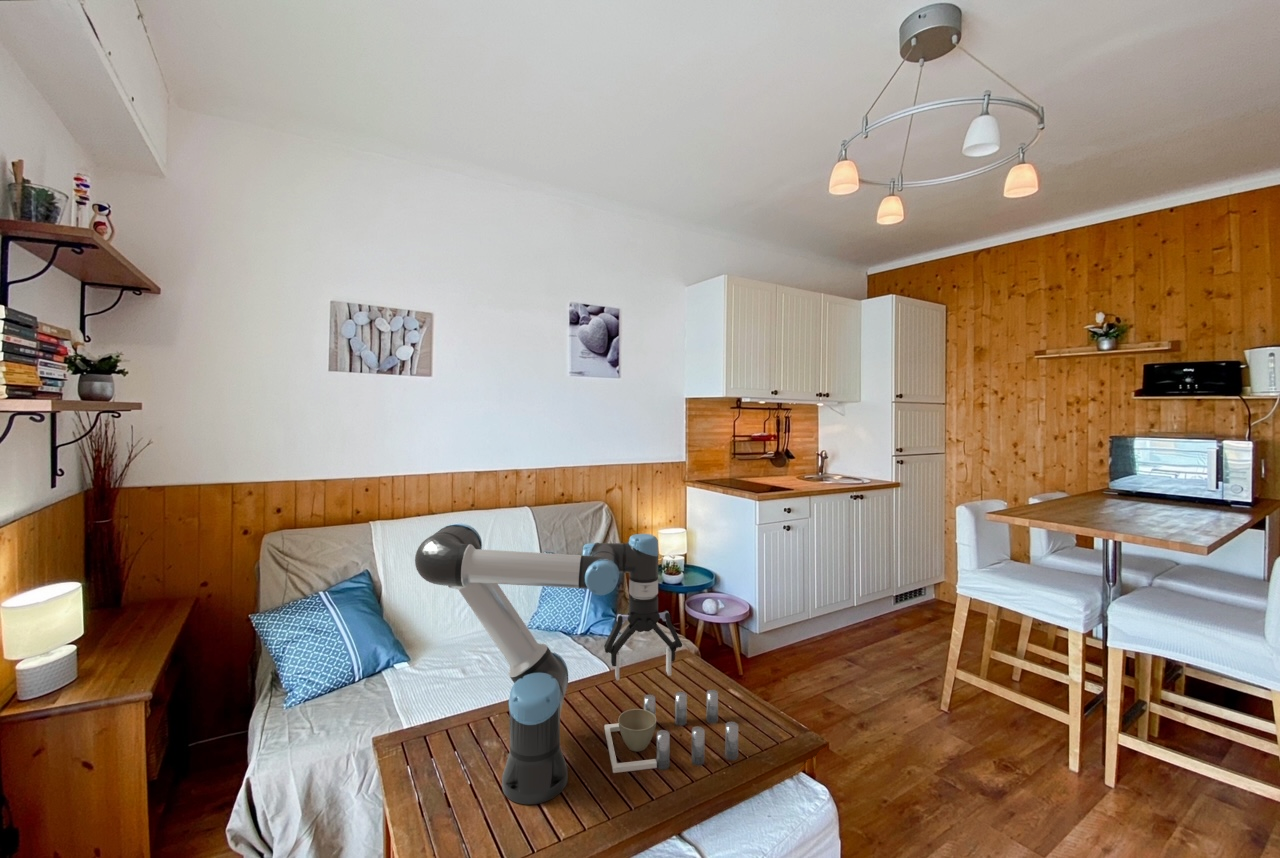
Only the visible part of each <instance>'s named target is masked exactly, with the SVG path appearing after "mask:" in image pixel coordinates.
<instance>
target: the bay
mask: <svg viewBox="0 0 1280 858" xmlns="http://www.w3.org/2000/svg"><path fill="white" fill-rule="evenodd" d="M613 732H614V733H615V732H620V728H619V723H610V724H608V723H607V724H604V733H605V738H606V739H605V740H606V743H607V744H606V745H607V748H608V753H609V759H610V764H611V769H612V773H613V774H616V773H623V772H624V773H625V772H633V771H640V770H641V771H643V770H649V769H658V768H657V762H656V759H657V758H652V759H644V760H643V759H642V760H633V761H627V762H618V760H617V757H616V752H615V747H614V744H613V737H612V733H613Z"/></svg>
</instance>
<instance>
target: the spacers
mask: <svg viewBox="0 0 1280 858" xmlns="http://www.w3.org/2000/svg"><path fill="white" fill-rule="evenodd" d="M687 695H688V694H687V693H686V692H684V691H677V692H676V693H675V694H674V696H675V697H674V698H675V699H674V705H675V707H674V711H675V712H674V716H675V717H674V724H675V725H676V726H680V727H683V726H686V725H687V723H688V722H687V718H688V717H687V716H688V715H687V713H688V712H687V709H688V707H687V706H688V705H687V703H688V702H687V701H688V698H687V697H688V696H687ZM643 710H647V711H649V712H651V713H653V714H654V715H655V716H656V696H655V695H653V694H645V695H644V696H643ZM718 721H719V692H718V691H717V690H716V689H709V690H707V691H706V722H707V723H709V724H712V725H713V724H716V723H718ZM705 733H706V729H705V728H704V727H702V726H699V725H697V726H694V727H692V728H691V763H692V764H693V765H695V766H703V765H704V764H705V755H706V754H705V747H706V746H705V745H706V744H705V742H706V741H705V736H706V734H705ZM724 733H725V736H724V737H725V740H724V742H725V749H724V750H725V751H724V753H725V754H724V756H725V758H726V759H727V760H729V761H735V760H737V759H738V758H739V724H738V723H737V722H735V721H728V722H726V723H725V732H724ZM670 743H671V742H670V732H669V731H668V730H665V729H661V730H658V731H657V732H656V758H655V759H656V762H657V768H656V769H659V770H661V771H664V770H667V769H669V768H670V751H671V750H670Z"/></svg>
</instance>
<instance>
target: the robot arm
mask: <svg viewBox="0 0 1280 858" xmlns="http://www.w3.org/2000/svg"><path fill="white" fill-rule="evenodd" d="M482 541H483V540H482V538H481V535H480V534H479V532H478V530H476V529H475V528H474V527H473V526H471V525H469V524H466V523H462V522H461V523H460V522H457V523H451V524H449V525H445V526H444V527H441V528H440V529H439V530H438V531H436V532H435V533H434V534H433V535H430V536H428V537H426V539H424V540H423V541H422V542H421V543H420V545H419V546H418V548H417V550H416V552H415V557H414V561H415V563H414V564H415V569H416V571H417V572H418V574H419V575H420V577H421V578H422V579H423V580H425V581H426V582H427V583H431V584H433V585H437V586H438V585H439V586H446V587H448V588H449V589H454V590H458V591H459V592H460V594H461V596H462V597H463V599H464V600H465V602H466V603H467V604H468V606H469V608H470V609H471V611H472V612H473V613H474V615H475V616H476V617H477V619H478V621H479V622H480V623H481V626H482V627H483V628H484V629H485V631H486V632H487V633H488V634H487V635H489V637H490V638H491V640H492V641H493V643H494V644H495V646H496V647H497V649H498V650H499V652H500V653H501V654H502V655H503V657H504V659H505V660H506V662H507V664H508V665H509V672H508V676H509V678H510V679H511V681H512V682H513V685H512V687H511V688H510V692H509V698H508V710H509V754H508V756H507V759H506V762H505V763H506V764H505V766H504V769H503V772H502V775H501V776H502V777H501V778H502V780H501V781H502V782H501V783H502V785H501V787H502V789H501V790H502V792H503V794H504V796H505V798H506V799H507V798H508V799H509V800H510V801H512V802H514V803H517V804H519V805H538V804H542V803H545V802H548V801H550V800H552V799H554V798H556V797H557V796H558V795H560V794H561V793H562V791H564V789H565V788H566V787H567V784H568V766H567V763H566V760H565V757H564V754H563V750H562V748H561V713H562V709H563V708H562V707H563V703H564V699H565V696H566V691H567V689H568V684H569V670H568V666H567V663H566V662H565V659H564V658H563V657H562V656H561V655H560V654H558V653H556V652H553V651H551V650H550V648H549V647H548V645H547V644H544V643H538V641H537V640H536V639H535V637H534V635H533V633H532V632H531V631H530V629H529V627H528V626H527V625H526V623H525V622H524V620H523V619H522V618H521V616H520V614H519V613H518V611H517V610H516V609H515V607H514V606H513V604H512V603H511V601H510V600H509V599H508V596H507V595H506V594H505V592H504V591H503V590H502V587H500V585H511V586H512V585H513V586H532V587H551V588H567V589H568V588H569V589H585V590H586V589H587V590H588V591H589V592H591V593H592V594H594V595H597V596H605V595H608V594H610V593H612V592H613V591H614V589H616V586H617V584H618V581H619V578H620V574H626V573H628V575H629V578H628V580H629V581H628V593H629V596H628V612H627V614H622V613H621V612H618V613H617V614H616V619H615V622H614V625H613V627H612V629H611V630H610V633H609V636H608V637H607V639H606V642H605V643H604V646H603V649H604V652H605V653H606V654H608V653H609V654H610V663H611V667H614V675H615V680H616V681H620V652H619V651H620V650H621V649H622V647H623V646H624V645H625V643H626V642H627V641H628V640H629V638H631V636H633V635H634V633H636V632H637V633H643V632H650V631H652V630H653V631H654V632H655V633H656V634H657V635H658V636H659V637H660V638H661V639H662V641H663V642H664V643H665V644H666V645H667V646H666V647H665V648H666V649H665V651H666V654H665V655H666V656H665V672H666V673H667V677H671V676H672V662H675V660H676V651H677V648H682V646H683V643H682V641H681V640H680V638H679V636H678V632H677V631H676V629H675V627H674V625H673V623H672V621H671V614H670V613H669V610H667V609H665V610H664V611H663V612H659V596H658V594H659V540H658V538H657V537H656V535H653V534H650V533H649V534H648V533H636V534H632V535H631V536H630V537H629V539H628V542H623V543H622V542H618V543H616V542H613V543H612V542H609V543H608V542H594V543H593V542H591V543H586V544H584V545H583V547H582V548H583V549H582V554H581V555H580V554H566V553H565V554H563V553H551V552H549V553H548V552H547V553H546V552H532V551H531V552H529V551H516V550H515V551H513V550H499V549H498V550H496V549H483V542H482ZM660 619H661V620H662V622H665V624H666V625H667V627H668V630H669V632H670V634H671V636H672V638H673V639H674V641H672V640H671V639H670V637H669V636H667V634H666V632H664V630H662V629H661V627H660V626H659V625H658V624H657V623H659V620H660ZM627 621H628V623H629V624H627V626H626V629H625V630H624V631H623V632H622V633H621V635H620V636H619V637H618V635H619V632H620V631H621V629H622V626H623V625H624V624H625V622H627ZM617 637H618V639H617ZM616 639H617V640H616Z"/></svg>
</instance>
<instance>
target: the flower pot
mask: <svg viewBox="0 0 1280 858" xmlns="http://www.w3.org/2000/svg"><path fill="white" fill-rule="evenodd" d="M617 719H618V720H617V722H618V723H619V728H620V731H619V732H620V735H621V737H622V740H623V742H624V744H625V745H626V747H627V748H628V750H630V751H633V752H636V753H638V752H642V751H645V749H647V748H648V746H649V744H650V742H651V741H652V739H653V736H654V734H655V730H656V727H657V717H656V714H655V715H654V714H653V713H651V712H649V711H647V710H644V708H643V709H641V708H632V709H628V710H625V711H623V712H622V713H621V714H620V715H618V718H617Z"/></svg>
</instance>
